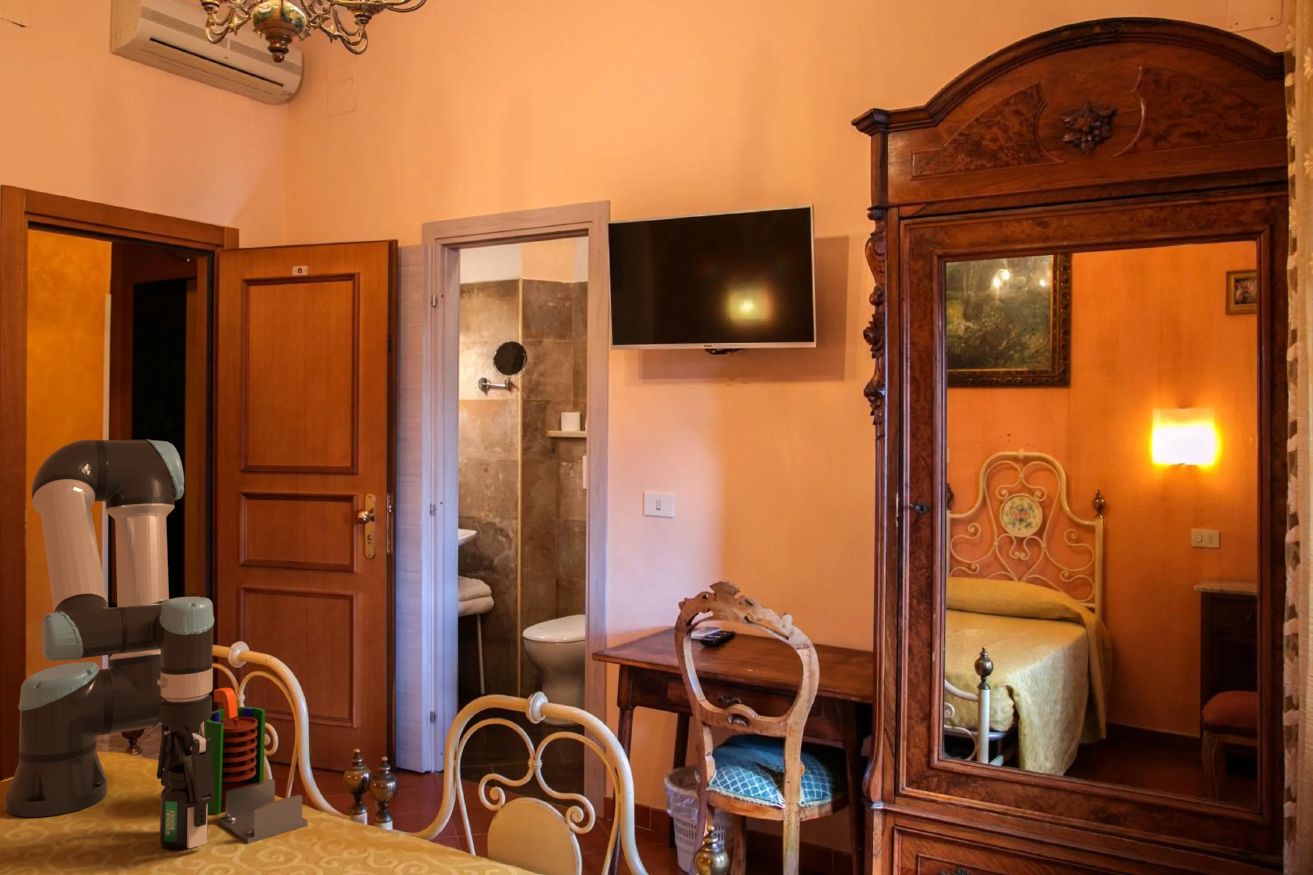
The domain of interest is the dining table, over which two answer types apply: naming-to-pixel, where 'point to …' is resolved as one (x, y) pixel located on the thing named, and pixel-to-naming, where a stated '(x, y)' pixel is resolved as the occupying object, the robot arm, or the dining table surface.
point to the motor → (234, 746)
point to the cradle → (261, 812)
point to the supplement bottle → (175, 811)
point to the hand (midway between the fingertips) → (184, 834)
